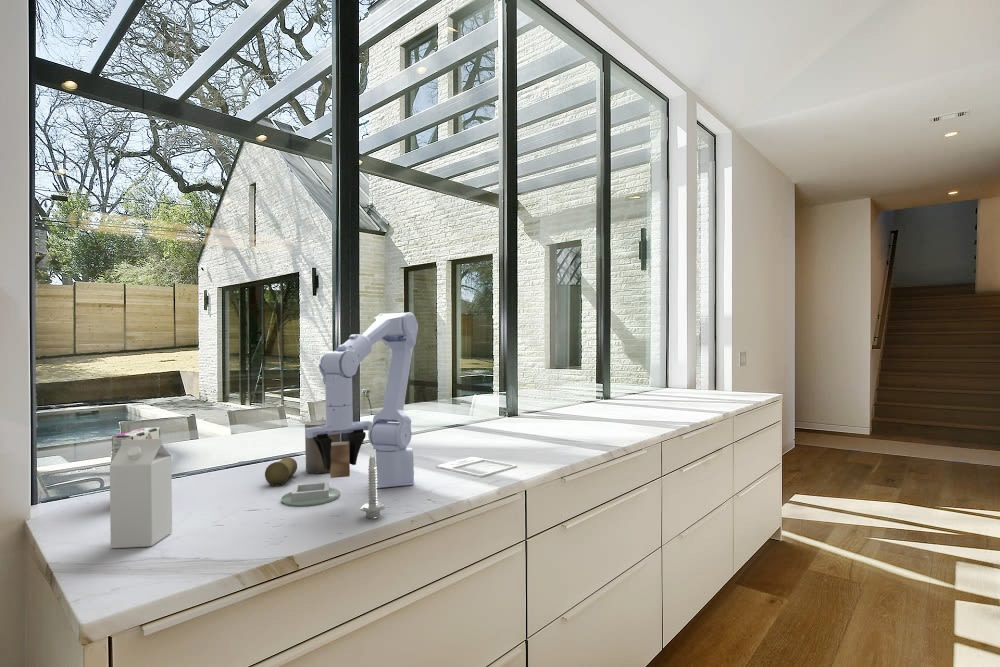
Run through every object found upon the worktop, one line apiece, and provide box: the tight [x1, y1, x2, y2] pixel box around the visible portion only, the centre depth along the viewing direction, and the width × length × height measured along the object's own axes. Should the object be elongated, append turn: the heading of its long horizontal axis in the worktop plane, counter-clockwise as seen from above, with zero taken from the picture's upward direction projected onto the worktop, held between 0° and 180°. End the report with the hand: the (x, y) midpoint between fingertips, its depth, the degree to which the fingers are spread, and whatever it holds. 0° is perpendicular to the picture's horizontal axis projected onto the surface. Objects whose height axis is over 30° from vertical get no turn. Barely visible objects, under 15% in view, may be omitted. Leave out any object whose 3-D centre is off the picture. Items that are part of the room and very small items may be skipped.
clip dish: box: [280, 481, 341, 507], centre depth 126 cm, size 13×13×2 cm
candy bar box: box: [111, 426, 161, 461], centre depth 126 cm, size 11×5×16 cm, turn 4°
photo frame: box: [435, 456, 518, 478], centre depth 153 cm, size 15×1×18 cm
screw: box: [360, 454, 386, 519], centre depth 111 cm, size 13×5×5 cm
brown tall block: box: [329, 440, 351, 479], centre depth 119 cm, size 4×4×7 cm
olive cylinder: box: [264, 456, 298, 487], centre depth 142 cm, size 6×6×11 cm
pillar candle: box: [304, 417, 341, 474], centre depth 153 cm, size 10×10×15 cm
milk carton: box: [109, 438, 173, 549], centre depth 100 cm, size 7×7×19 cm
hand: (340, 466), depth 119 cm, fingers closed on brown tall block, 5 cm apart
